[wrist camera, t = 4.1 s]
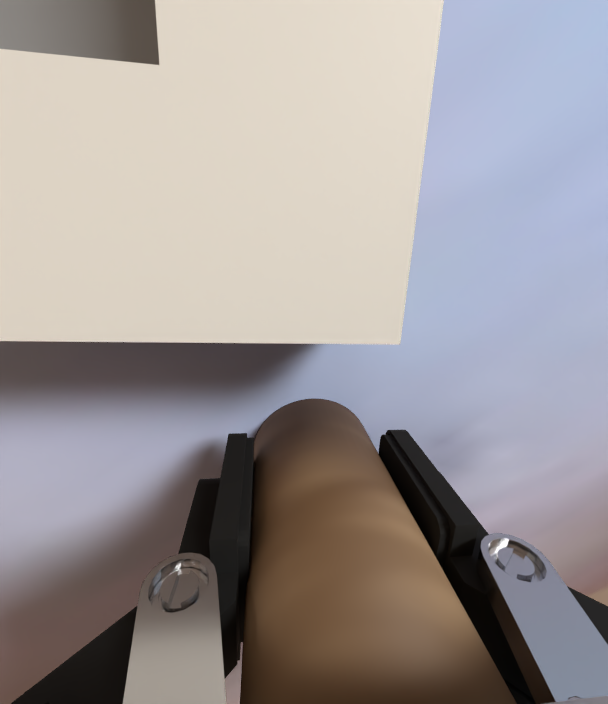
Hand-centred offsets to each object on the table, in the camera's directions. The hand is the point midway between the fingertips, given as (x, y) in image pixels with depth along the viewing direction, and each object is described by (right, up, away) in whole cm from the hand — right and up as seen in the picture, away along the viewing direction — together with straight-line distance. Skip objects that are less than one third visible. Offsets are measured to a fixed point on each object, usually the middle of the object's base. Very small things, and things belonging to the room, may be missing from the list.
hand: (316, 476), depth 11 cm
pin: (0, 0, +1) cm, 1 cm away
